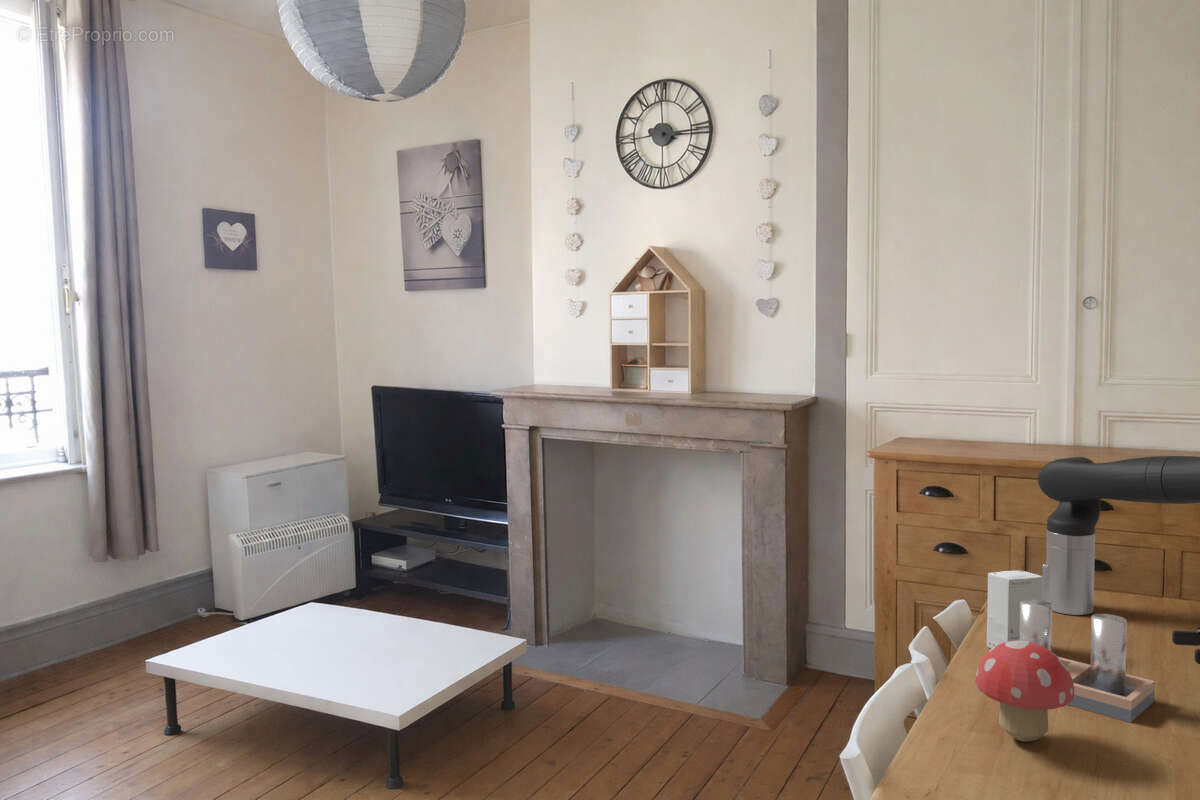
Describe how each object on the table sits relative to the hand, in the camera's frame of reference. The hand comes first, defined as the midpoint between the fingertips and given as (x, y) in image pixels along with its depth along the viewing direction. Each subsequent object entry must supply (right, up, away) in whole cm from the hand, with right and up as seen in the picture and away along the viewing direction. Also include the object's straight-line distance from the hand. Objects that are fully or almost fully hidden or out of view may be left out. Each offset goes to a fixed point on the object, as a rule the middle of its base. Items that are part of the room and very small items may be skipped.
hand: (1184, 646), depth 140 cm
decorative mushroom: (-30, -12, -9) cm, 34 cm away
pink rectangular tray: (-14, -10, +8) cm, 19 cm away
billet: (-10, -8, +3) cm, 14 cm away
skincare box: (-14, -8, +27) cm, 32 cm away
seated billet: (-18, -8, +12) cm, 23 cm away
